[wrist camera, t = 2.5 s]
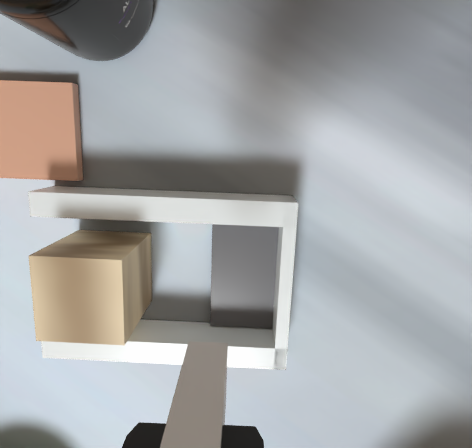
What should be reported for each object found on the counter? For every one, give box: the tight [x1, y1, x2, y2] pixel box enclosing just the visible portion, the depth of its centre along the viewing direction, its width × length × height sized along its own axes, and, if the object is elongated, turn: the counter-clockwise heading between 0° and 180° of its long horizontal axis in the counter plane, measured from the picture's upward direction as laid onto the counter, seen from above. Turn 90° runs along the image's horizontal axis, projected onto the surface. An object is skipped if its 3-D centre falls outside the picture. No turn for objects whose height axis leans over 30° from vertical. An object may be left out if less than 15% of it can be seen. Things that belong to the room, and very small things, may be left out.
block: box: [29, 230, 152, 345], centre depth 23 cm, size 5×5×6 cm
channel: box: [28, 186, 298, 370], centre depth 24 cm, size 16×11×3 cm
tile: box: [0, 80, 83, 181], centre depth 23 cm, size 6×6×1 cm
